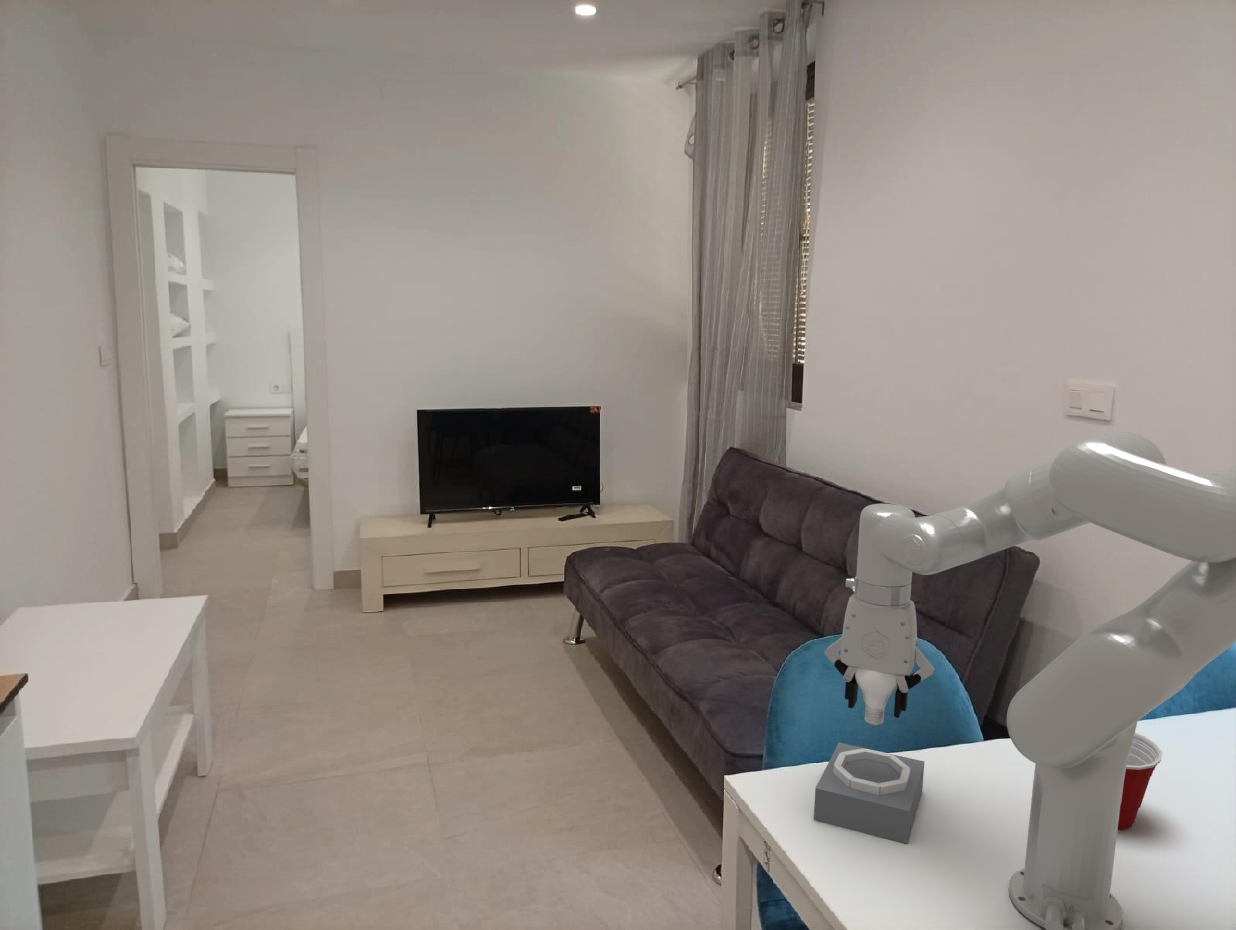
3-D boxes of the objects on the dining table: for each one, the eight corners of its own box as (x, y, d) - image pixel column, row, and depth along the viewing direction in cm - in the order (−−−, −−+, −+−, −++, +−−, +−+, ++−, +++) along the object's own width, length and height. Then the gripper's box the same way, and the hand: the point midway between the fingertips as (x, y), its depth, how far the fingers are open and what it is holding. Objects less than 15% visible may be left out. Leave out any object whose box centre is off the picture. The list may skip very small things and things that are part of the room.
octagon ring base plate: (906, 843, 123) (909, 803, 122) (813, 819, 129) (815, 780, 128) (924, 782, 139) (927, 745, 138) (841, 762, 145) (843, 727, 144)
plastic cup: (1057, 819, 129) (1065, 742, 127) (1082, 790, 137) (1090, 718, 135) (1140, 851, 122) (1150, 771, 120) (1162, 819, 129) (1172, 743, 127)
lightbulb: (895, 717, 133) (901, 648, 130) (896, 737, 127) (902, 665, 124) (851, 711, 134) (856, 642, 132) (850, 731, 128) (855, 659, 126)
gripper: (816, 589, 127) (810, 707, 130) (943, 609, 119) (933, 733, 123) (828, 575, 134) (822, 687, 137) (949, 592, 126) (940, 711, 129)
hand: (875, 708), depth 130 cm, fingers closed on lightbulb, 5 cm apart
